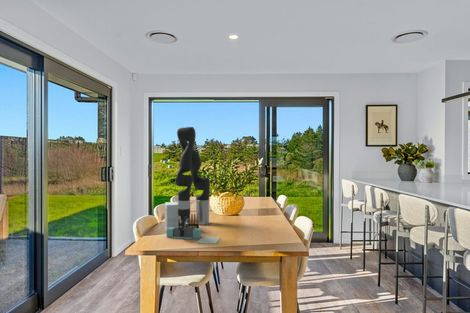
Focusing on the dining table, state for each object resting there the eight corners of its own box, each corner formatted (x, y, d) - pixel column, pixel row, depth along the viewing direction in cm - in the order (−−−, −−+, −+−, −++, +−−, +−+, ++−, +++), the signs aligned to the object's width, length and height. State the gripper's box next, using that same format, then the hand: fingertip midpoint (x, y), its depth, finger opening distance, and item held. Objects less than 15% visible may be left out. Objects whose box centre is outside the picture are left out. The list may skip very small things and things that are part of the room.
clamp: (170, 234, 203) (170, 226, 203) (201, 236, 200) (201, 228, 200) (165, 237, 195) (165, 229, 195) (198, 239, 192) (198, 230, 192)
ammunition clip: (182, 232, 210) (182, 213, 210) (182, 231, 212) (182, 213, 212) (198, 231, 211) (198, 213, 211) (198, 231, 213) (198, 212, 213)
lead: (176, 236, 200) (176, 226, 200) (193, 236, 199) (193, 227, 199) (174, 237, 196) (174, 227, 196) (191, 238, 195) (191, 228, 195)
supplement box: (183, 226, 226) (183, 201, 226) (186, 230, 214) (187, 204, 214) (164, 227, 222) (164, 202, 222) (166, 232, 210) (166, 205, 210)
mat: (202, 237, 196) (202, 236, 196) (220, 238, 194) (220, 237, 194) (197, 243, 184) (197, 242, 184) (216, 244, 182) (216, 243, 182)
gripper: (181, 205, 205) (181, 231, 205) (174, 209, 191) (174, 237, 191) (193, 206, 204) (193, 232, 204) (186, 209, 190) (186, 238, 190)
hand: (183, 234), depth 197 cm, fingers open, 7 cm apart
